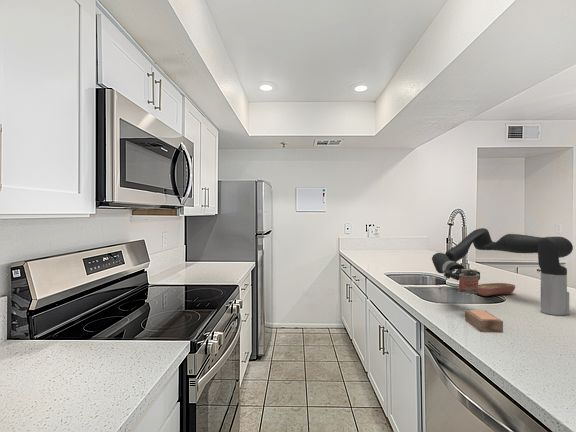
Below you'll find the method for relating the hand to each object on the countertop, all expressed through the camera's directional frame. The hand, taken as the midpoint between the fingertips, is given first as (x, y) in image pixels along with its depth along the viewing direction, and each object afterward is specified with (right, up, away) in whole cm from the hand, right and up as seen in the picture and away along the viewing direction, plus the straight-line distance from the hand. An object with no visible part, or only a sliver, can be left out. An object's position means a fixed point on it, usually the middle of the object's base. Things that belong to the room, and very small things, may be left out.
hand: (468, 277), depth 152 cm
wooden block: (-1, -16, -13) cm, 21 cm away
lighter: (0, -6, +1) cm, 6 cm away
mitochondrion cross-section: (+33, -16, +37) cm, 52 cm away
